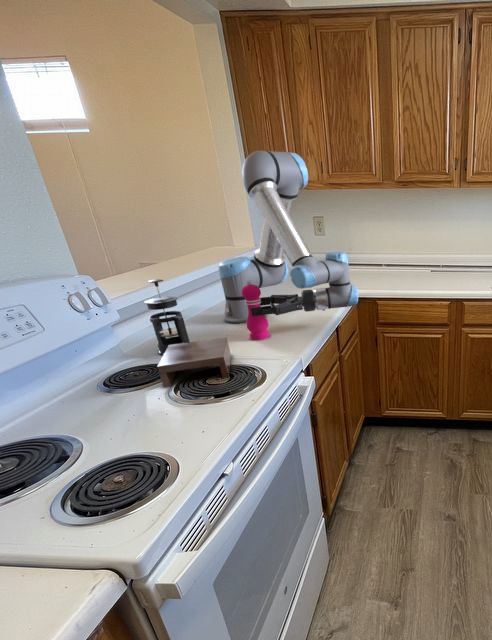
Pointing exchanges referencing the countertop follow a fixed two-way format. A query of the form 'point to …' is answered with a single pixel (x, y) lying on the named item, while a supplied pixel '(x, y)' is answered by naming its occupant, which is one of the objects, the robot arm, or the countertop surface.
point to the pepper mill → (254, 323)
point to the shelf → (194, 358)
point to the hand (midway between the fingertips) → (250, 307)
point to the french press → (156, 321)
